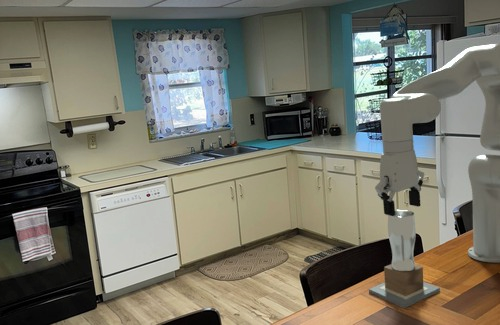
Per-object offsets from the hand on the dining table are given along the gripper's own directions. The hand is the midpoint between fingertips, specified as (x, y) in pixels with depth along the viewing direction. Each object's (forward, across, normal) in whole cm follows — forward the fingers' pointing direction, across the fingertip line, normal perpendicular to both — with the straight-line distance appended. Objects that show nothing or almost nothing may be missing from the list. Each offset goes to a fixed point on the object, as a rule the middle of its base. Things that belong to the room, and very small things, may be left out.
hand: (402, 210), depth 122 cm
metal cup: (+16, +1, 0) cm, 16 cm away
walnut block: (+22, +1, 0) cm, 22 cm away
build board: (+23, +2, 0) cm, 23 cm away
